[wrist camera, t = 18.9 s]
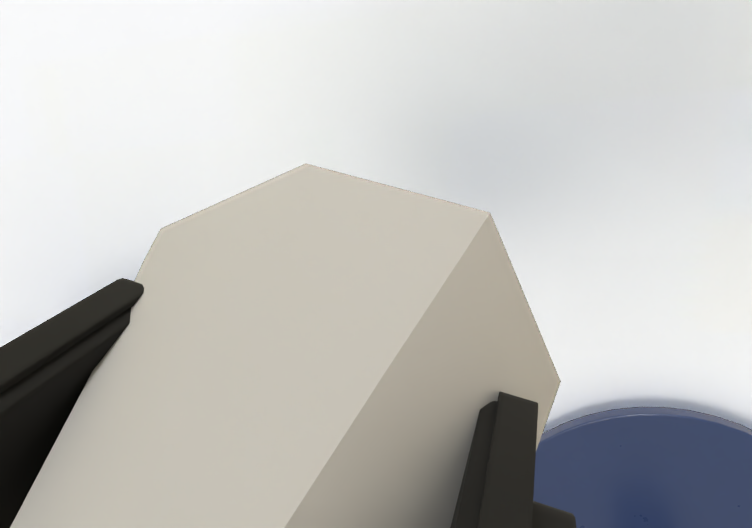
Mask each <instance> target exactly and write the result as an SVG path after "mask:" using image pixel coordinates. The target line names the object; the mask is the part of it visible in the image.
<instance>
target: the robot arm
mask: <svg viewBox="0 0 752 528" xmlns="http://www.w3.org/2000/svg"><path fill="white" fill-rule="evenodd" d="M143 293H144V287H143V284H140V283H138V282H134V281H131V280H128V279H123V278H122V279H119V280H116V281H115V282H113V283H111V284H109V285H108V286H106V287H104V288H102V289H101V290H99V291H97V292H96V293H94V294H92V295H90V296H89V297H87V298H85V299H83V300H82V301H80V302H78V303H77V304H75V305H73V306H71V307H70V308H68V309H66V310H64V311H63V312H61V313H59V314H57V315H56V316H54V317H52V318H51V319H49V320H47V321H45V322H44V323H42V324H40V325H38V326H37V327H35V328H33V329H32V330H30V331H28V332H26V333H25V334H23V335H21V336H19V337H18V338H16V339H14V340H12V341H11V342H9V343H7V344H6V345H4V346H2V347H0V528H10V527H11V525H12V523H13V521H14V519H15V517H16V515H17V513H18V511H19V510H20V508H21V506H22V504H23V502H24V500H25V498H26V496H27V494H28V493H29V491H30V489H31V487H32V485H33V483H34V481H35V479H36V477H37V475H38V474H39V472H40V470H41V468H42V466H43V464H44V462H45V460H46V458H47V457H48V455H49V453H50V451H51V449H52V447H53V445H54V443H55V441H56V439H57V438H58V436H59V434H60V432H61V430H62V428H63V426H64V424H65V422H66V421H67V419H68V417H69V415H70V413H71V411H72V409H73V407H74V405H75V403H76V402H77V400H78V398H79V396H80V394H81V392H82V390H83V388H84V386H85V385H86V383H87V381H88V379H89V377H90V375H91V373H92V371H93V370H94V369H95V367H96V366H97V365H98V364H99V362H100V361H101V360H102V358H103V357H104V356H105V355H106V353H107V352H108V351H109V349H110V348H111V347H112V345H113V344H114V343H115V342H116V340H117V339H118V338H119V336H120V335H121V334H122V333H123V331H124V330H125V329H126V327H127V326H128V325H129V323H130V315H131V307H132V306H134V305H135V303H136V302H137V301H138V300H139V298H140V297H141V296H142V294H143ZM537 421H538V403H537V402H534V401H531V400H527V399H524V398H521V397H517V396H514V395H511V394H507V393H504V392H501V391H499V396H498V401H492V402H490V403H488V404H487V405H485V406H484V407H483V408H481V409H480V411H479V415H478V419H477V423H476V427H475V431H474V435H473V439H472V443H471V447H470V451H469V455H468V459H467V463H466V467H465V471H464V475H463V479H462V483H461V487H460V491H459V495H458V499H457V503H456V507H455V511H454V515H453V519H452V523H451V527H450V528H576V520H575V516H574V515H573V514H572V513H569V512H566V511H563V510H560V509H557V508H554V507H551V506H548V505H545V504H542V503H539V502H536V501H533V495H534V476H535V458H536V439H537Z"/></svg>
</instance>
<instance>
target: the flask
mask: <svg viewBox="0 0 752 528" xmlns="http://www.w3.org/2000/svg"><path fill="white" fill-rule="evenodd" d="M134 282H138V283H140V284H143V287H144V293H143V294H142V296H141V297H140V298H139V300H138V301H137V302H136V303H135V305H134V306H132V307H131V315H130V323H129V325H128V326H127V327H126V329H125V330H124V331H123V333H122V334H121V335H120V336H119V338H118V339H117V340H116V342H115V343H114V344H113V345H112V347H111V348H110V349H109V351H108V352H107V353H106V355H105V356H104V357H103V358H102V360H101V361H100V362H99V364H98V365H97V366H96V367H95V369H94V370H93V371H92V373H91V375H90V377H89V379H88V381H87V383H86V385H85V386H84V388H83V390H82V392H81V394H80V396H79V398H78V400H77V402H76V403H75V405H74V407H73V409H72V411H71V413H70V415H69V417H68V419H67V421H66V422H65V424H64V426H63V428H62V430H61V432H60V434H59V436H58V438H57V439H56V441H55V443H54V445H53V447H52V449H51V451H50V453H49V455H48V457H47V458H46V460H45V462H44V464H43V466H42V468H41V470H40V472H39V474H38V475H37V477H36V479H35V481H34V483H33V485H32V487H31V489H30V491H29V493H28V494H27V496H26V498H25V500H24V502H23V504H22V506H21V508H20V510H19V511H18V513H17V515H16V517H15V519H14V521H13V523H12V525H11V527H10V528H450V527H451V523H452V519H453V515H454V511H455V507H456V503H457V499H458V495H459V491H460V487H461V483H462V479H463V475H464V471H465V467H466V463H467V459H468V455H469V451H470V447H471V443H472V439H473V435H474V431H475V427H476V423H477V419H478V415H479V411H480V409H481V408H483V407H484V406H485V405H487V404H488V403H490V402H492V401H498V396H499V391H501V392H504V393H507V394H511V395H514V396H517V397H521V398H524V399H527V400H531V401H534V402H537V403H538V421H537V439H536V450H537V447H538V444H539V442H540V439H541V436H542V433H543V430H544V427H545V425H546V422H547V419H548V416H549V413H550V410H551V408H552V405H553V402H554V399H555V396H556V393H557V391H558V388H559V385H560V382H561V381H560V379H559V376H558V374H557V372H556V369H555V367H554V364H553V362H552V360H551V357H550V355H549V352H548V350H547V348H546V345H545V343H544V340H543V338H542V336H541V333H540V331H539V328H538V326H537V324H536V321H535V319H534V316H533V314H532V312H531V309H530V307H529V305H528V302H527V300H526V297H525V295H524V293H523V290H522V288H521V285H520V283H519V281H518V278H517V276H516V273H515V271H514V269H513V266H512V264H511V261H510V259H509V257H508V254H507V252H506V249H505V247H504V245H503V242H502V240H501V237H500V235H499V233H498V230H497V228H496V225H495V223H494V221H493V218H492V216H491V214H490V213H489V212H486V211H482V210H478V209H474V208H471V207H467V206H463V205H459V204H456V203H452V202H448V201H444V200H441V199H437V198H433V197H429V196H426V195H422V194H418V193H414V192H411V191H407V190H403V189H399V188H396V187H392V186H388V185H384V184H381V183H377V182H373V181H369V180H366V179H362V178H358V177H354V176H351V175H347V174H343V173H339V172H336V171H332V170H328V169H324V168H321V167H317V166H313V165H309V164H304V165H302V166H299V167H297V168H295V169H293V170H290V171H288V172H286V173H284V174H282V175H279V176H277V177H275V178H273V179H270V180H268V181H266V182H264V183H261V184H259V185H257V186H255V187H253V188H250V189H248V190H246V191H244V192H241V193H239V194H237V195H235V196H233V197H230V198H228V199H226V200H224V201H221V202H219V203H217V204H215V205H213V206H210V207H208V208H206V209H204V210H201V211H199V212H197V213H195V214H192V215H190V216H188V217H186V218H184V219H181V220H179V221H177V222H175V223H172V224H170V225H168V226H166V227H164V228H161V229H160V231H159V233H158V235H157V237H156V239H155V241H154V242H153V244H152V246H151V248H150V250H149V252H148V254H147V256H146V258H145V259H144V262H143V264H142V266H141V268H140V270H139V272H138V275H137V277H136V279H135V281H134Z"/></svg>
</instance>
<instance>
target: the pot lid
mask: <svg viewBox="0 0 752 528" xmlns="http://www.w3.org/2000/svg"><path fill="white" fill-rule="evenodd" d="M533 501H536V502H539V503H542V504H545V505H548V506H551V507H554V508H557V509H560V510H563V511H566V512H569V513H572V514H573V515H574V516H575V520H576V528H752V430H751V429H749V428H747V427H745V426H742V425H740V424H737V423H734V422H731V421H728V420H725V419H723V418H720V417H717V416H713V415H708V414H704V413H700V412H695V411H691V410H683V409H674V408H665V407H633V408H624V409H615V410H608V411H604V412H599V413H595V414H590V415H586V416H583V417H581V418H578V419H575V420H572V421H569V422H566V423H564V424H562V425H560V426H558V427H556V428H554V429H552V430H549V431H547V432H545V433H544V434H542V436H541V439H540V442H539V444H538V447H537V450H536V458H535V476H534V495H533Z"/></svg>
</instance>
